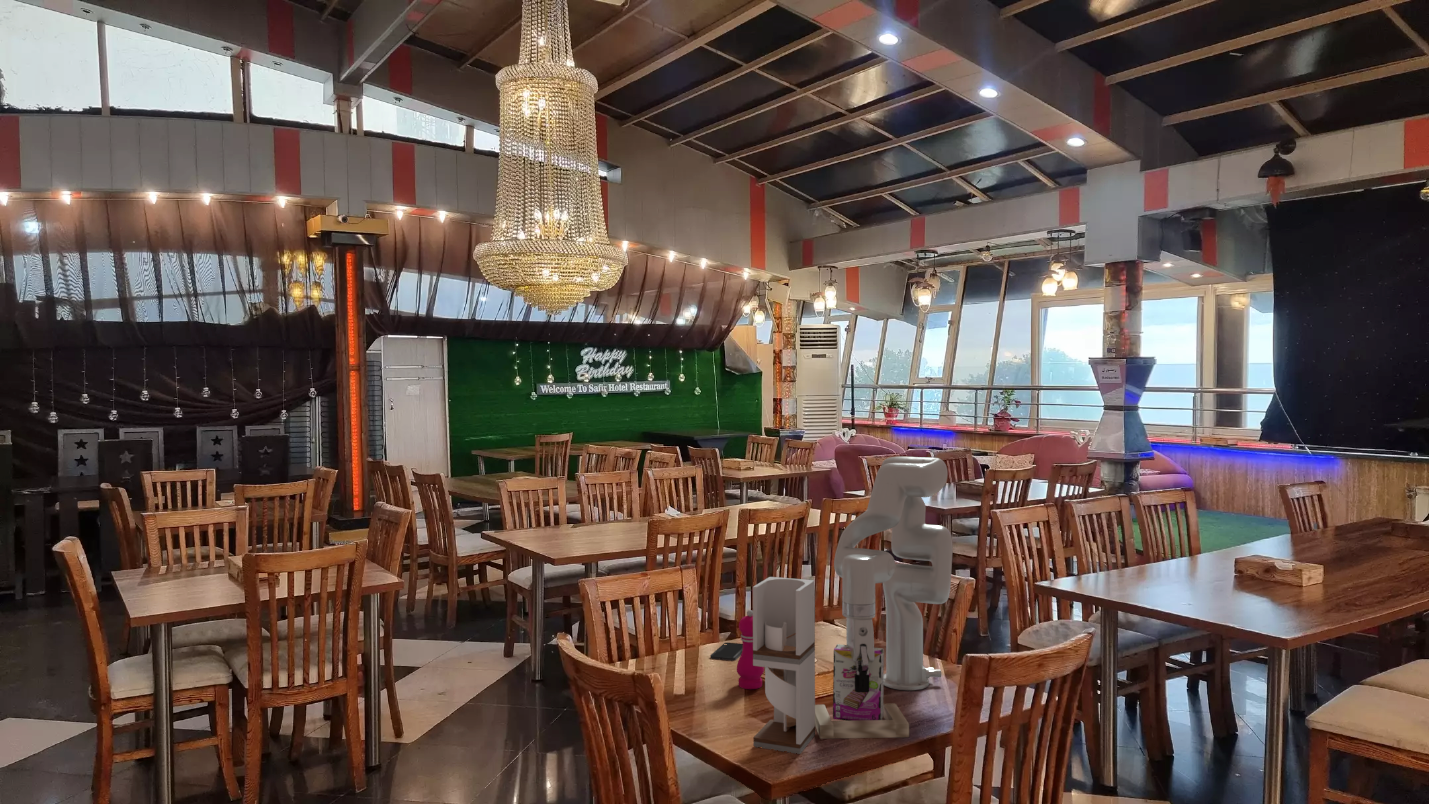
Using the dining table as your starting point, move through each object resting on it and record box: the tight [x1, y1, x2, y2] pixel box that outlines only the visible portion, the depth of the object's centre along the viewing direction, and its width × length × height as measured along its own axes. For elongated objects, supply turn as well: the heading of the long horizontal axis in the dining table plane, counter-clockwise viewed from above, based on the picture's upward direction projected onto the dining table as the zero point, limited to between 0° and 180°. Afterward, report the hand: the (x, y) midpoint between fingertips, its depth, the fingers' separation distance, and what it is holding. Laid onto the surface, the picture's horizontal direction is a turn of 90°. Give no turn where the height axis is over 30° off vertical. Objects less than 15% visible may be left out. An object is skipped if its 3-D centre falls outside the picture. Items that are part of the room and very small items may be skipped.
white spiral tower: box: [752, 576, 816, 755], centre depth 197 cm, size 11×11×35 cm
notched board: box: [815, 703, 910, 740], centre depth 205 cm, size 20×13×3 cm, turn 92°
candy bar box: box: [832, 643, 885, 721], centre depth 205 cm, size 11×5×16 cm, turn 73°
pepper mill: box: [736, 609, 765, 690], centre depth 234 cm, size 7×7×20 cm
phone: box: [710, 642, 743, 662], centre depth 264 cm, size 8×1×15 cm
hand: (859, 685), depth 205 cm, fingers closed on candy bar box, 6 cm apart
